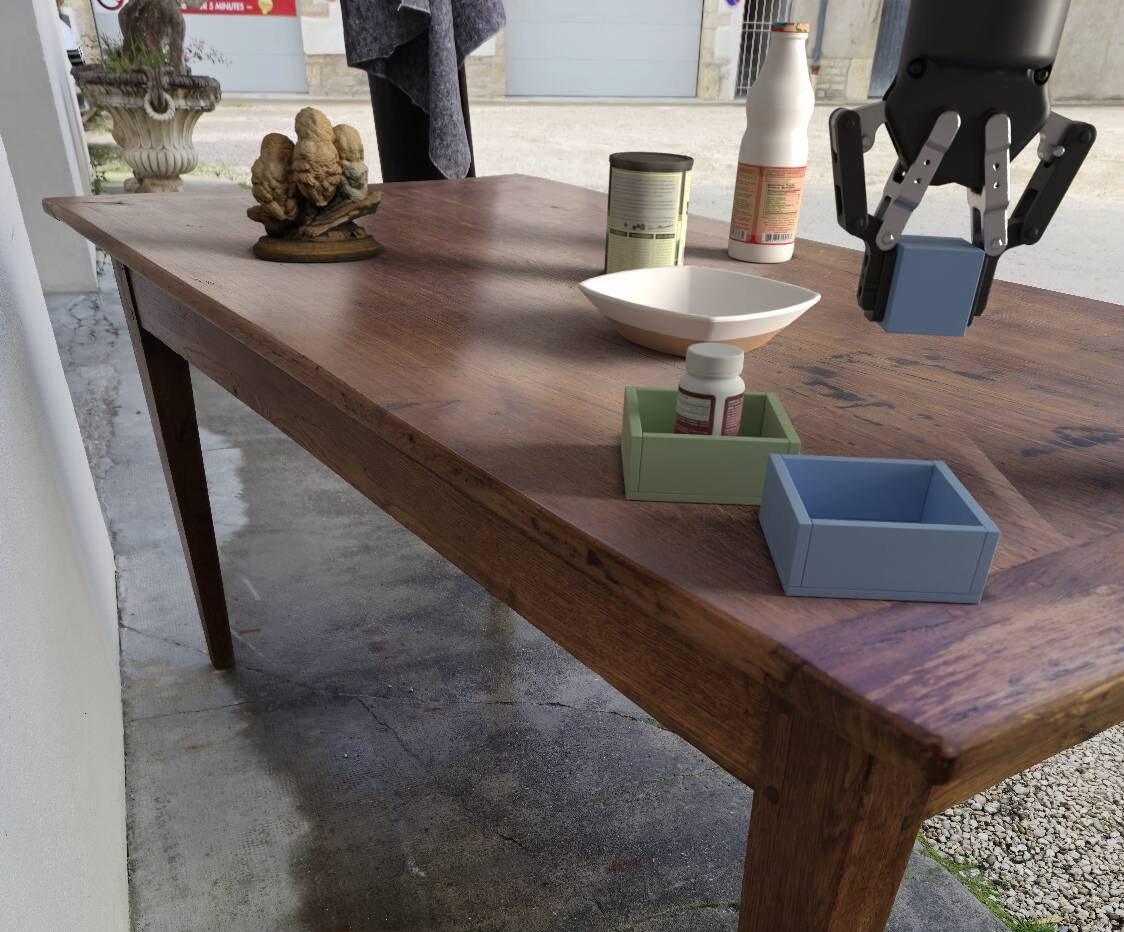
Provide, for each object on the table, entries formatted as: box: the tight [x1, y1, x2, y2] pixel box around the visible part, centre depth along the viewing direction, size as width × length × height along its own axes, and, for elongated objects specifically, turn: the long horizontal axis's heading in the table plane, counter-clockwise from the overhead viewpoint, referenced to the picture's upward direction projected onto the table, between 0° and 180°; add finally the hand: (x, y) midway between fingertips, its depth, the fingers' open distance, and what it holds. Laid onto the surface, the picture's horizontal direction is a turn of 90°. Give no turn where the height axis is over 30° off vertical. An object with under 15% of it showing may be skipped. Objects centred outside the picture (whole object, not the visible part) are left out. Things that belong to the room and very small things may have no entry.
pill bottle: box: [674, 343, 746, 437], centre depth 75 cm, size 5×5×8 cm
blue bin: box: [758, 454, 1002, 605], centre depth 65 cm, size 12×12×5 cm
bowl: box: [577, 264, 821, 358], centre depth 108 cm, size 22×22×5 cm
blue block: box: [876, 234, 985, 338], centre depth 59 cm, size 4×4×4 cm
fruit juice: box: [727, 21, 816, 264], centre depth 143 cm, size 9×9×28 cm
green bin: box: [620, 385, 802, 506], centre depth 77 cm, size 12×12×5 cm
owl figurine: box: [246, 106, 385, 263], centre depth 135 cm, size 18×12×17 cm, turn 112°
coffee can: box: [603, 151, 695, 275], centre depth 130 cm, size 10×10×14 cm
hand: (916, 319), depth 60 cm, fingers closed on blue block, 4 cm apart
